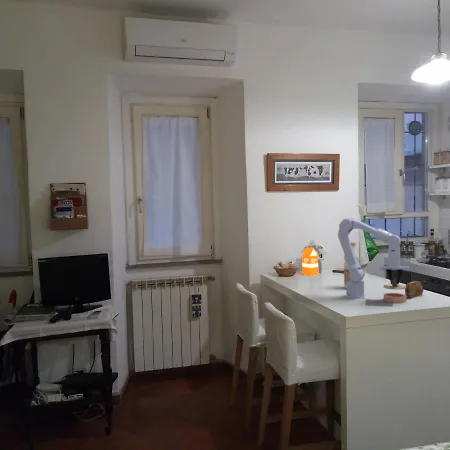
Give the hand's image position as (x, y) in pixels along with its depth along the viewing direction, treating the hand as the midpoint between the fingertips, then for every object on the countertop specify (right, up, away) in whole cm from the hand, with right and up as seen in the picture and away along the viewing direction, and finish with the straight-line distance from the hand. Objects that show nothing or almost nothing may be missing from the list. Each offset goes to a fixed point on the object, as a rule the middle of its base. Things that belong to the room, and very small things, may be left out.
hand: (394, 283), depth 212 cm
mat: (-10, -10, -4) cm, 14 cm away
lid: (0, -2, 0) cm, 2 cm away
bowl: (0, -9, 0) cm, 9 cm away
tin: (+14, -9, +7) cm, 18 cm away
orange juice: (-26, -6, +87) cm, 91 cm away
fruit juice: (-11, -8, +35) cm, 37 cm away
